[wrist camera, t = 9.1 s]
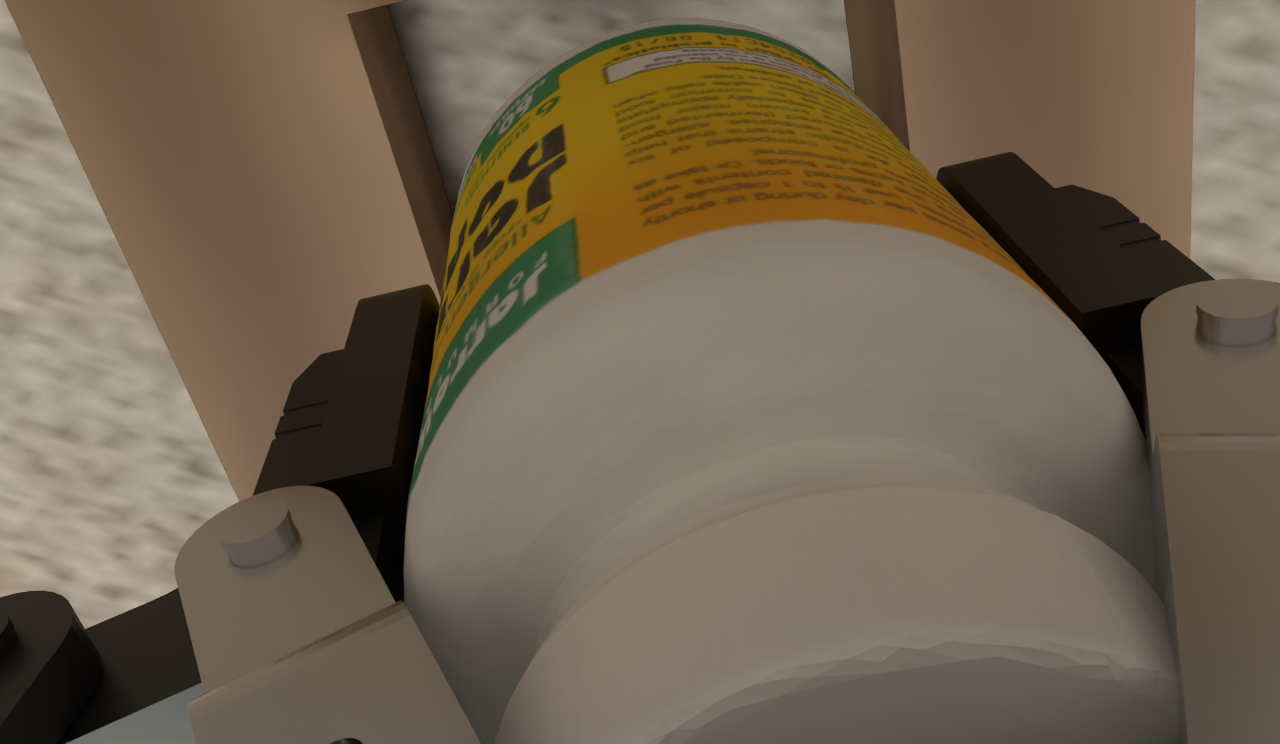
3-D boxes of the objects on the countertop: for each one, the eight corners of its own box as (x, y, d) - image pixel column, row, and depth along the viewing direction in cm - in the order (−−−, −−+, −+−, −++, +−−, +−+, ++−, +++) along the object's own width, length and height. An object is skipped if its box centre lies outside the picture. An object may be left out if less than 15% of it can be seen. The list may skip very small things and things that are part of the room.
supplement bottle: (822, 449, 16) (1154, 1254, 8) (424, 392, 15) (295, 1239, 7) (956, 55, 13) (1665, 598, 5) (489, -43, 13) (418, 425, 4)
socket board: (1088, -438, 15) (1206, -472, 12) (1103, 366, 21) (1186, 459, 18) (33, -179, 15) (-70, -159, 13) (337, 537, 21) (309, 651, 19)
